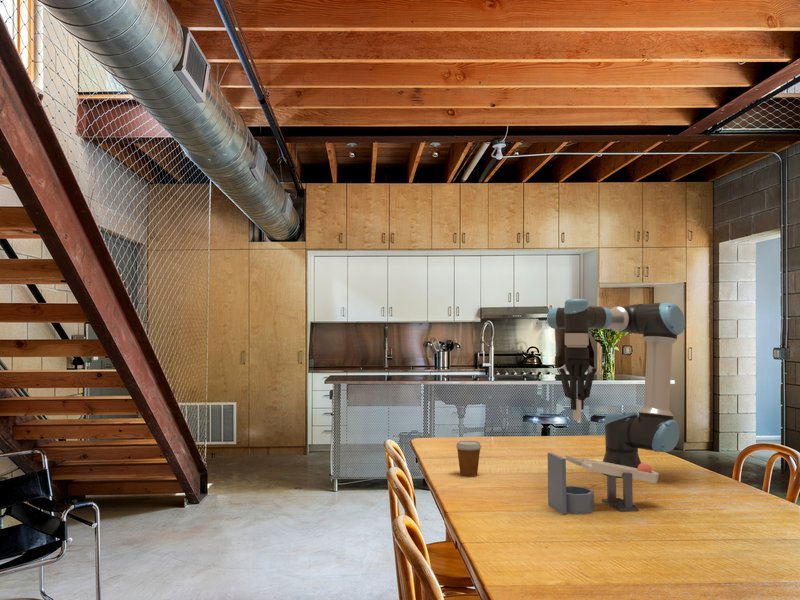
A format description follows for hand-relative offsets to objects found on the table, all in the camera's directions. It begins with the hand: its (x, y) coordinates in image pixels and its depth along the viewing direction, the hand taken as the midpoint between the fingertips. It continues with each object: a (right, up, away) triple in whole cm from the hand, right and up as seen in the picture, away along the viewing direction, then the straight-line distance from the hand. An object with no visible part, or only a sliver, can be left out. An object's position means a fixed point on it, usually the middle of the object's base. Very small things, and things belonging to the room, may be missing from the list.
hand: (577, 420), depth 200 cm
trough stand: (+10, -25, -9) cm, 28 cm away
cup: (-4, -24, -12) cm, 28 cm away
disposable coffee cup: (-31, -27, +32) cm, 53 cm away
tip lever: (+9, -16, -4) cm, 19 cm away
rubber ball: (+19, -14, -7) cm, 24 cm away
